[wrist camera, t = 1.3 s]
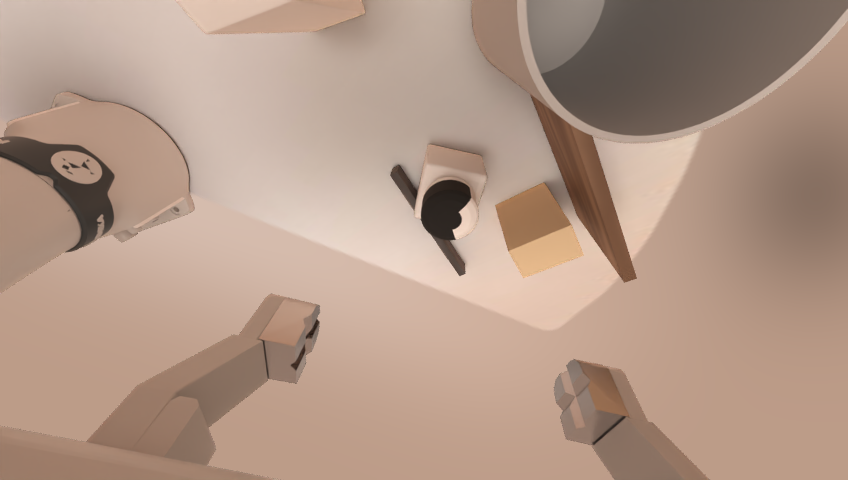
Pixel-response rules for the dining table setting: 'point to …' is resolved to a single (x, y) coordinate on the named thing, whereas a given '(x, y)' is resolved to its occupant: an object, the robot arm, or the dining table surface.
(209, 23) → the milk
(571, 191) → the brown flat boards
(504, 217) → the carton
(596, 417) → the robot arm
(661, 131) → the cylinder vase
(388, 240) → the dining table surface
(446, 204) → the medicine bottle
